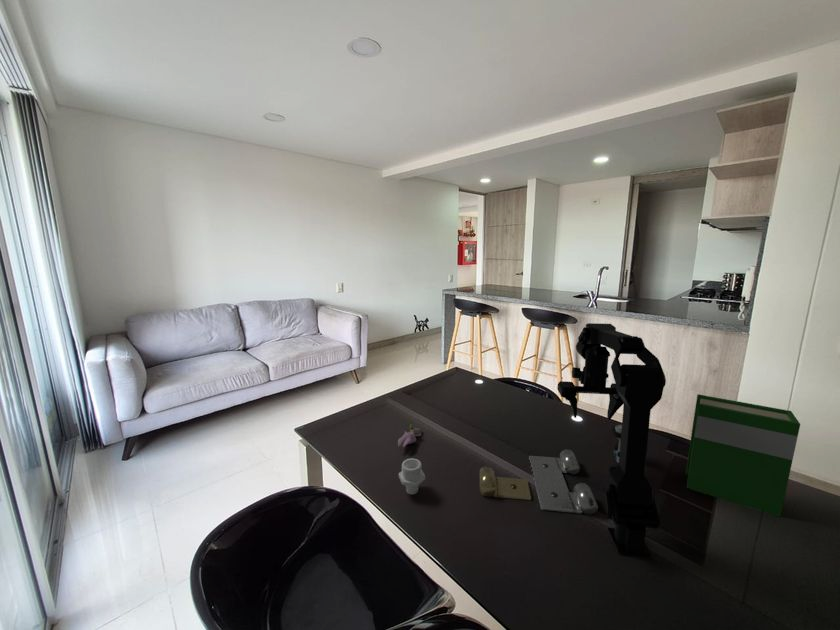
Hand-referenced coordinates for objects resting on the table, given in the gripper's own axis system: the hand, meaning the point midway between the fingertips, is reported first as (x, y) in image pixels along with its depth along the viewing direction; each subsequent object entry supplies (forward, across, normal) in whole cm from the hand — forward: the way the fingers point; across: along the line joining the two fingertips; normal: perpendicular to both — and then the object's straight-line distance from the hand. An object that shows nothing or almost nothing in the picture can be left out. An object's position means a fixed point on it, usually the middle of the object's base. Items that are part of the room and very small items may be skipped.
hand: (591, 418), depth 100 cm
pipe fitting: (+15, +50, +18) cm, 55 cm away
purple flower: (+15, +55, -5) cm, 57 cm away
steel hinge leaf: (+15, +11, +10) cm, 21 cm away
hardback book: (+15, -32, +8) cm, 36 cm away
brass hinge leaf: (+15, +26, +14) cm, 33 cm away
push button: (+15, -10, -4) cm, 18 cm away
